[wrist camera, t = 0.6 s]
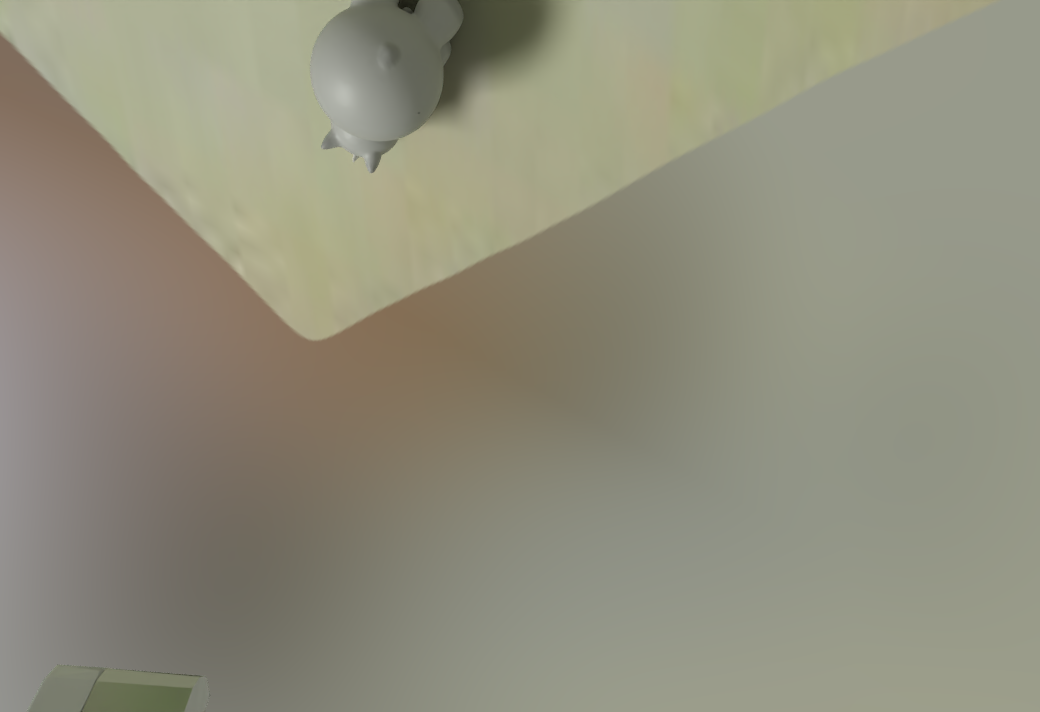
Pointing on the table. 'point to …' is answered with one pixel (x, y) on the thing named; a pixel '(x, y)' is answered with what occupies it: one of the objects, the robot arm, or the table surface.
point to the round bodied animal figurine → (381, 72)
